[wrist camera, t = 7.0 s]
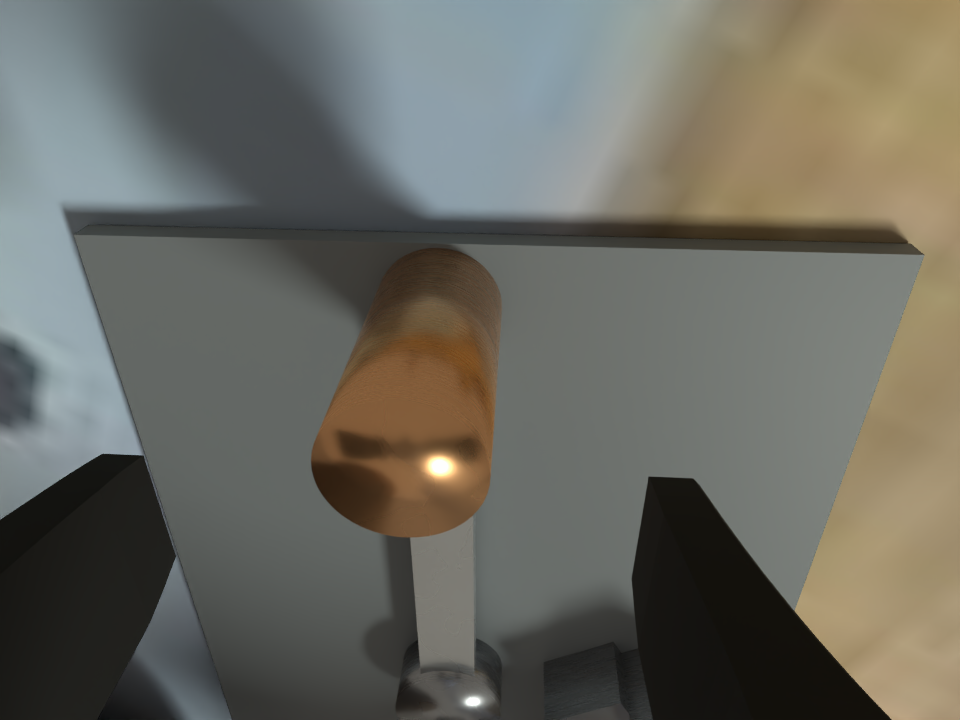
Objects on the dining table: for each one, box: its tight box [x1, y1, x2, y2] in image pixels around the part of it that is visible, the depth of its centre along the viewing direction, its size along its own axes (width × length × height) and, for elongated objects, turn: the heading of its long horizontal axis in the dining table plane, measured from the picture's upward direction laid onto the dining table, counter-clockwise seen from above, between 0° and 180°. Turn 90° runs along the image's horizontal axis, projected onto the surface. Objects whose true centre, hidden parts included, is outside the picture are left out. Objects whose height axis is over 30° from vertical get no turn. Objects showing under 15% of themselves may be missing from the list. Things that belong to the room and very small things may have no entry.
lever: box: [311, 248, 502, 720], centre depth 18 cm, size 20×3×6 cm, turn 0°
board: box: [74, 225, 924, 720], centre depth 20 cm, size 19×18×1 cm
